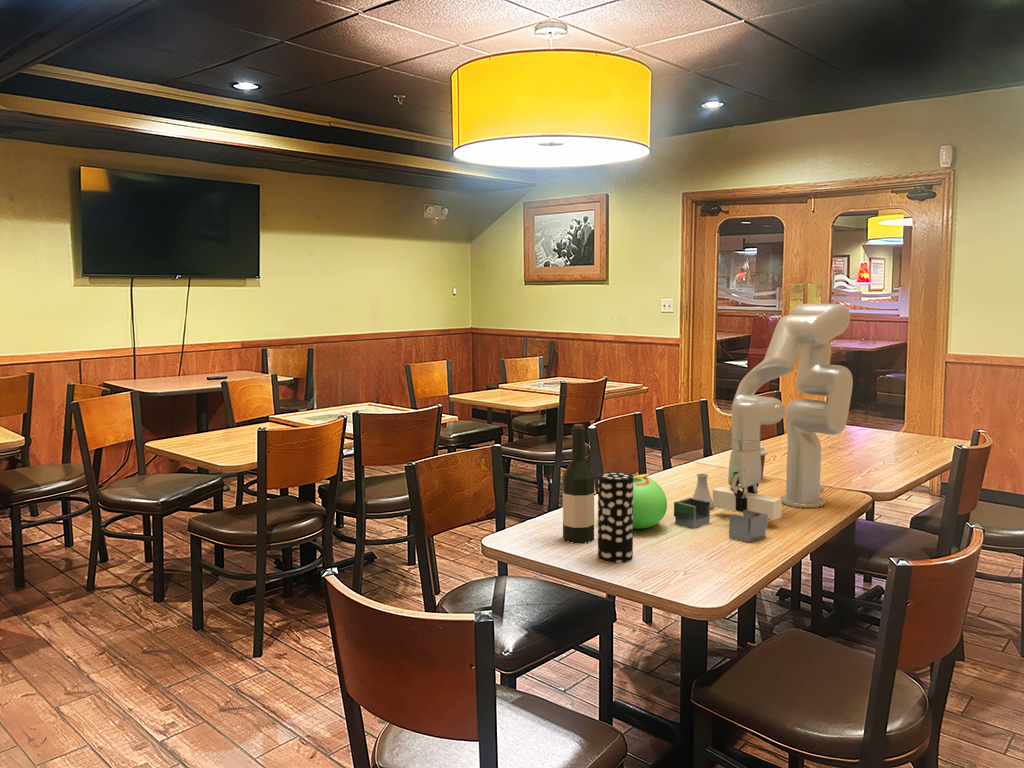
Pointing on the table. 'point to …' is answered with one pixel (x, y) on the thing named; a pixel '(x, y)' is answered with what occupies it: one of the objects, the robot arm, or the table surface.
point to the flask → (703, 489)
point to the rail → (748, 502)
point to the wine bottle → (578, 493)
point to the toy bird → (647, 502)
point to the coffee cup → (762, 458)
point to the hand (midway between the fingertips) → (746, 508)
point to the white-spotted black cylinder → (615, 517)
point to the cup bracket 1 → (692, 512)
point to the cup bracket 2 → (748, 526)
